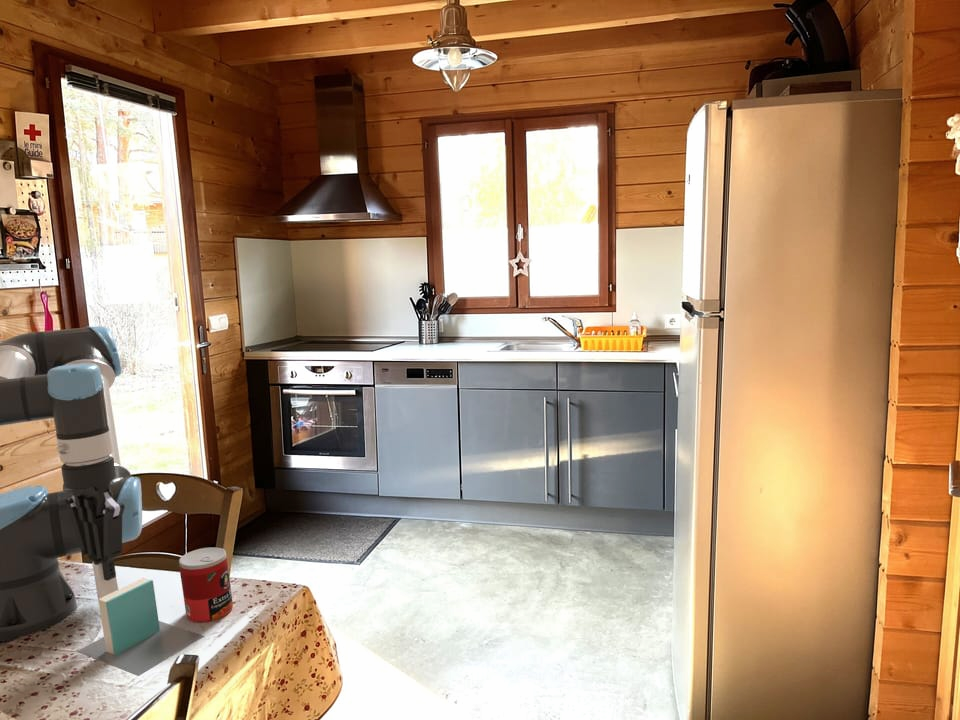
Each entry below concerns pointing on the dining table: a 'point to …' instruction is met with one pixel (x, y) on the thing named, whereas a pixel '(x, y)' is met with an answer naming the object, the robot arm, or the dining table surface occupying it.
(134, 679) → the dining table surface
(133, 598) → the tile
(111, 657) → the slate board
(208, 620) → the canned food
